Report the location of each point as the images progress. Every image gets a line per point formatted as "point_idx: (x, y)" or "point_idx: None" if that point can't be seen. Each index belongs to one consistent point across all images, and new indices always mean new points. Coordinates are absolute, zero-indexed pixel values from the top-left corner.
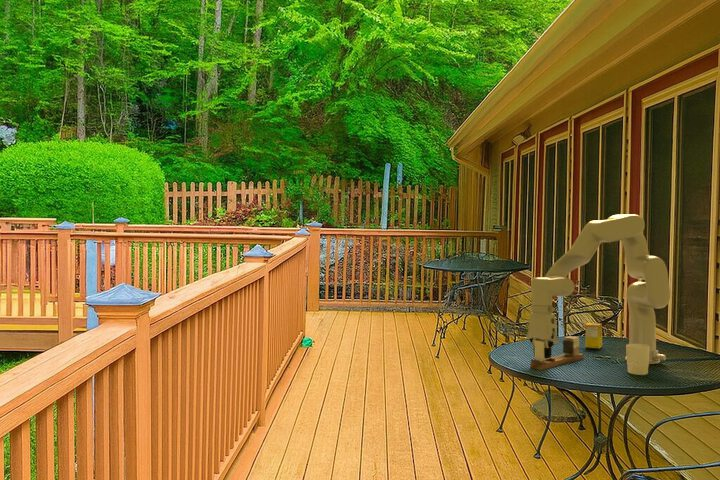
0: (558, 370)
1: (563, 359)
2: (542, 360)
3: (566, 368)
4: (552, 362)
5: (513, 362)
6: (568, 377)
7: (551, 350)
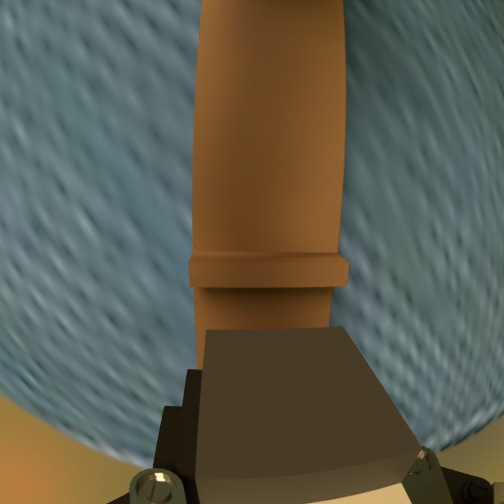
0: (392, 325)
1: (345, 89)
2: (218, 310)
3: (413, 226)
4: (330, 294)
5: (23, 345)
6: (464, 393)
7: (367, 363)
